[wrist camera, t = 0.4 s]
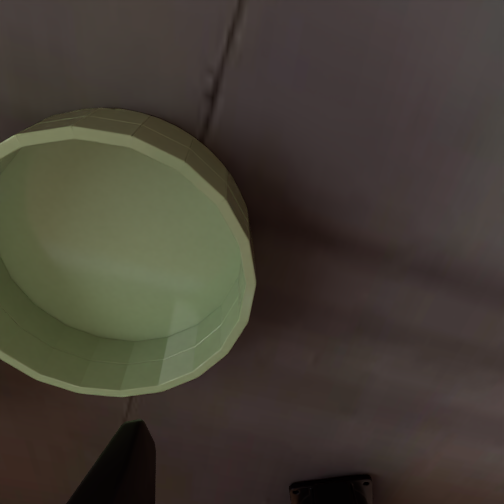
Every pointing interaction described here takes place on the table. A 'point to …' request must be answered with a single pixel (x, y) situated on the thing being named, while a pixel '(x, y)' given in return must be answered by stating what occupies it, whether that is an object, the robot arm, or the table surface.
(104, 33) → the table surface
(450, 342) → the table surface
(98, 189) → the tub
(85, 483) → the robot arm
